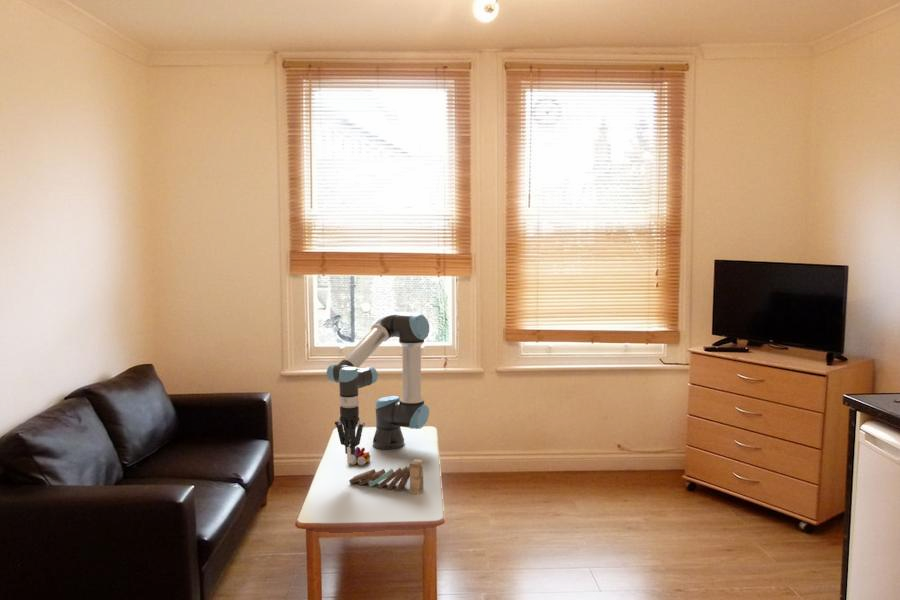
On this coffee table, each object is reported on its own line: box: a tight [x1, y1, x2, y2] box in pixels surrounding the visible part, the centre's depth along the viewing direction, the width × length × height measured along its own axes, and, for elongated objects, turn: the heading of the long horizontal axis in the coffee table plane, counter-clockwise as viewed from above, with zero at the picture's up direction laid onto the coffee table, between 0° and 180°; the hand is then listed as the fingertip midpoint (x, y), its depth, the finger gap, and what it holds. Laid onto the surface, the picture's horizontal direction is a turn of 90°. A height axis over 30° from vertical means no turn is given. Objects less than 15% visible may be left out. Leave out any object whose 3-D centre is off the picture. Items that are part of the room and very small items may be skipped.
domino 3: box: [377, 467, 403, 489], centre depth 245 cm, size 2×5×10 cm
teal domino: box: [367, 468, 395, 488], centre depth 246 cm, size 2×5×10 cm
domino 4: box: [387, 465, 409, 491], centre depth 244 cm, size 2×5×10 cm
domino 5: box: [395, 465, 410, 492], centre depth 243 cm, size 2×5×10 cm, turn 160°
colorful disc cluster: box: [349, 446, 371, 466], centre depth 272 cm, size 8×10×7 cm
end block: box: [409, 458, 424, 495], centre depth 241 cm, size 5×4×12 cm
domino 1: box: [348, 468, 377, 485], centre depth 249 cm, size 2×5×10 cm
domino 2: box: [358, 468, 386, 486], centre depth 248 cm, size 2×5×10 cm
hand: (350, 461), depth 251 cm, fingers closed
